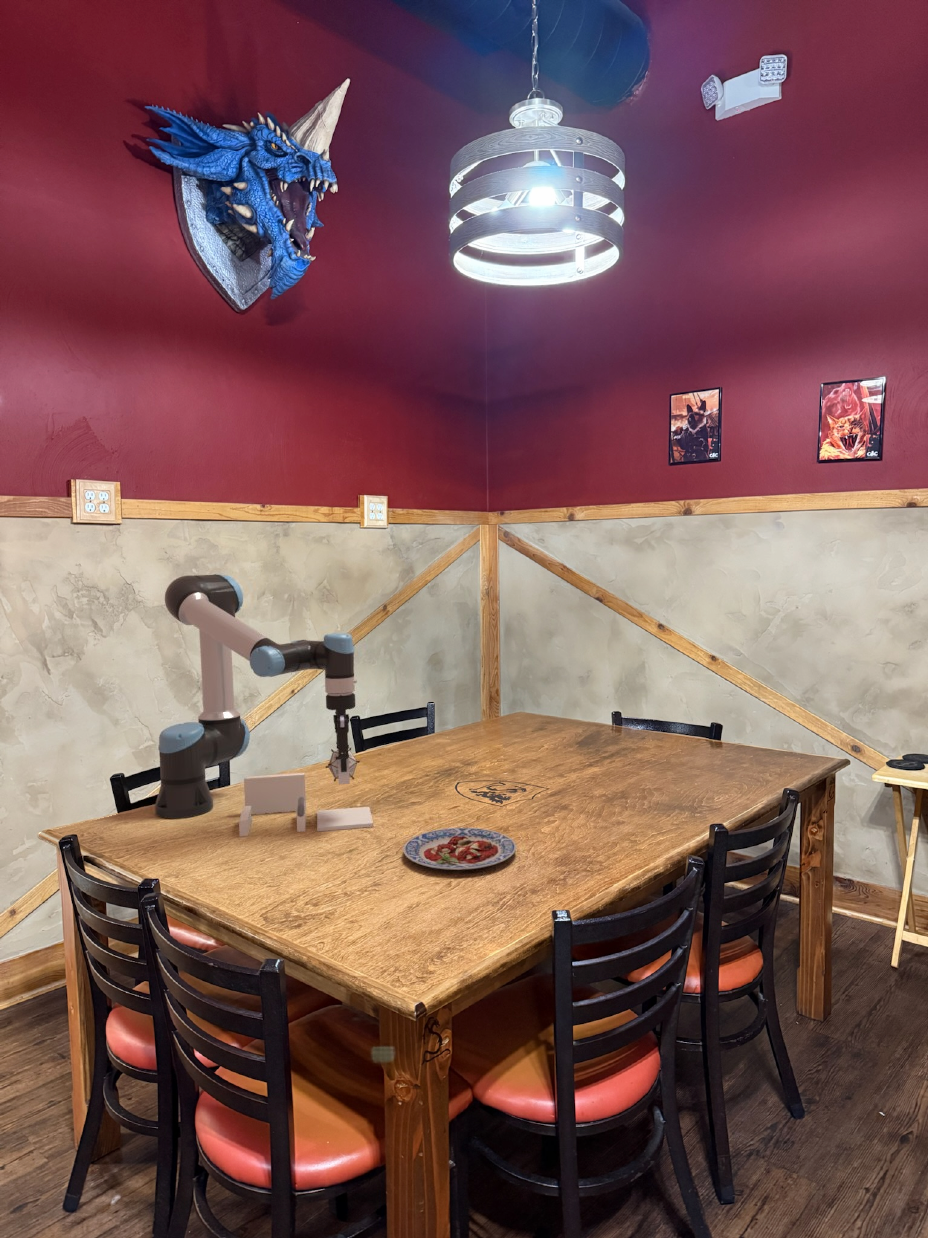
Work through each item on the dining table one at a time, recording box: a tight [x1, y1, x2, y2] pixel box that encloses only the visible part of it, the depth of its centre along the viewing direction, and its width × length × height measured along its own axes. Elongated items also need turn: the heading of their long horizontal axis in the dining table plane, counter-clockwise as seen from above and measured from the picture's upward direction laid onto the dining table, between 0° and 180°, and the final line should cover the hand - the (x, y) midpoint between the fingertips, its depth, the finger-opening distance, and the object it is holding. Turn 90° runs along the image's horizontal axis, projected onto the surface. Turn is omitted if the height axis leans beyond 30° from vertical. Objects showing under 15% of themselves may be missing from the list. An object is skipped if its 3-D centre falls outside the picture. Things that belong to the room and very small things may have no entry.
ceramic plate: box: [402, 827, 517, 871], centre depth 181 cm, size 26×26×3 cm
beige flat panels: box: [238, 772, 307, 837], centre depth 206 cm, size 16×19×10 cm
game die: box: [325, 747, 361, 782], centre depth 205 cm, size 9×8×10 cm
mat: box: [316, 806, 374, 832], centre depth 206 cm, size 14×14×1 cm
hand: (343, 778), depth 206 cm, fingers closed on game die, 9 cm apart
